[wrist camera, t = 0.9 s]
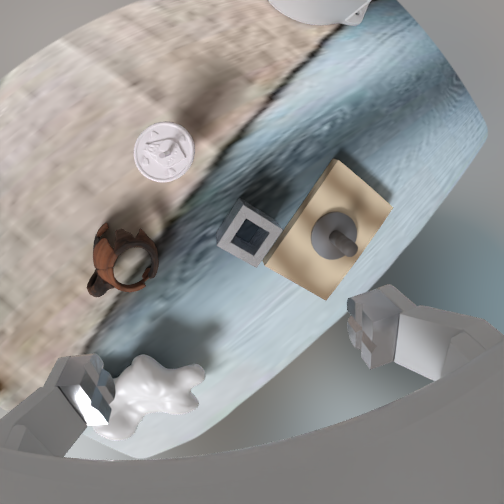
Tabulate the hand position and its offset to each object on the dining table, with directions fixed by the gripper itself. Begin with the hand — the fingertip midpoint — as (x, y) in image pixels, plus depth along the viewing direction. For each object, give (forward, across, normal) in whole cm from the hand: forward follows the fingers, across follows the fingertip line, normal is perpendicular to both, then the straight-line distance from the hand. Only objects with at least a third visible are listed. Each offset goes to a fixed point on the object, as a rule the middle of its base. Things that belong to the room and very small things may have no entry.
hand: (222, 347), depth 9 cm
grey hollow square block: (+33, -4, +6) cm, 34 cm away
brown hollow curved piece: (+34, +15, +6) cm, 37 cm away
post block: (+33, -16, +10) cm, 38 cm away
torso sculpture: (+34, +21, +30) cm, 51 cm away
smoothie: (+33, +3, -6) cm, 34 cm away
